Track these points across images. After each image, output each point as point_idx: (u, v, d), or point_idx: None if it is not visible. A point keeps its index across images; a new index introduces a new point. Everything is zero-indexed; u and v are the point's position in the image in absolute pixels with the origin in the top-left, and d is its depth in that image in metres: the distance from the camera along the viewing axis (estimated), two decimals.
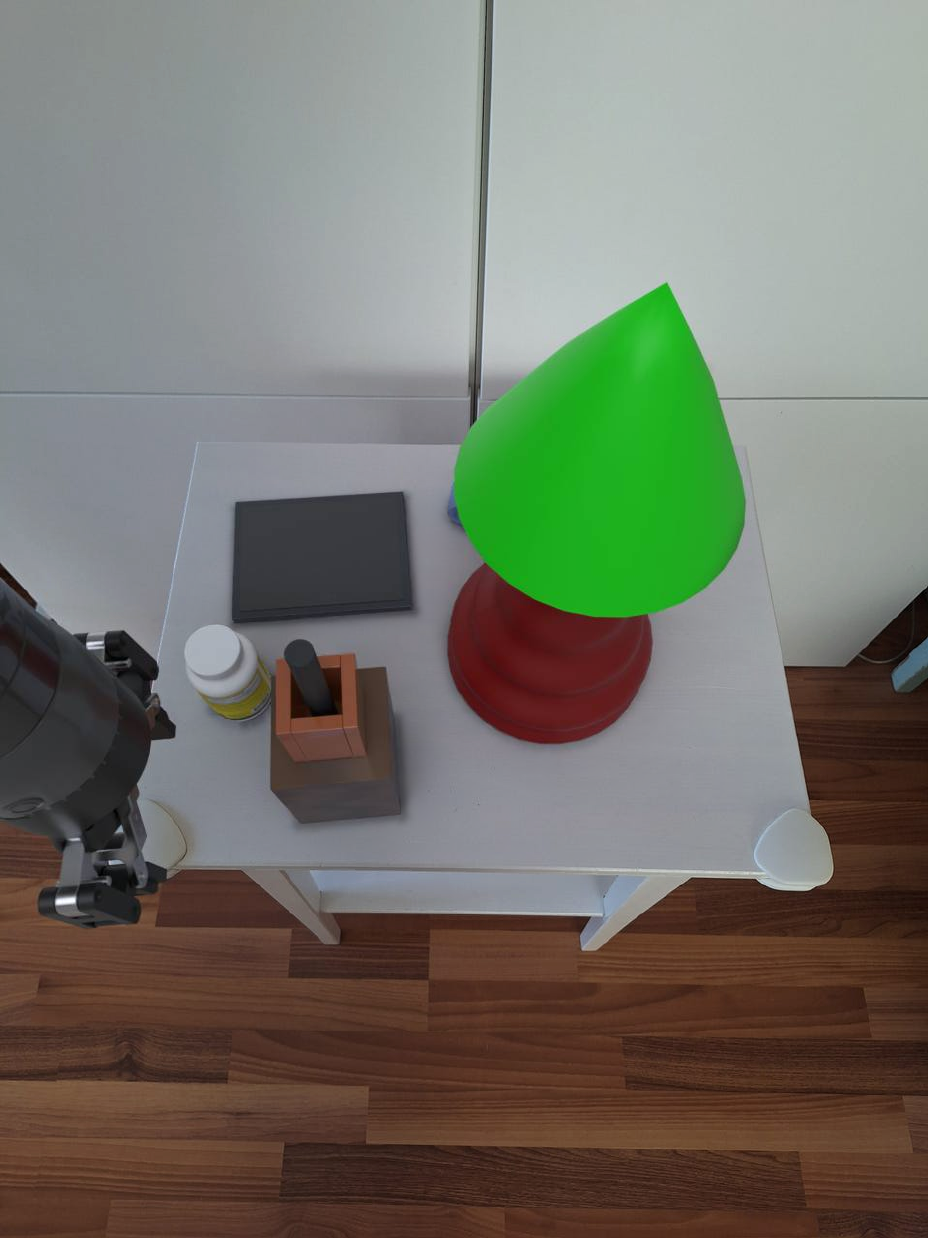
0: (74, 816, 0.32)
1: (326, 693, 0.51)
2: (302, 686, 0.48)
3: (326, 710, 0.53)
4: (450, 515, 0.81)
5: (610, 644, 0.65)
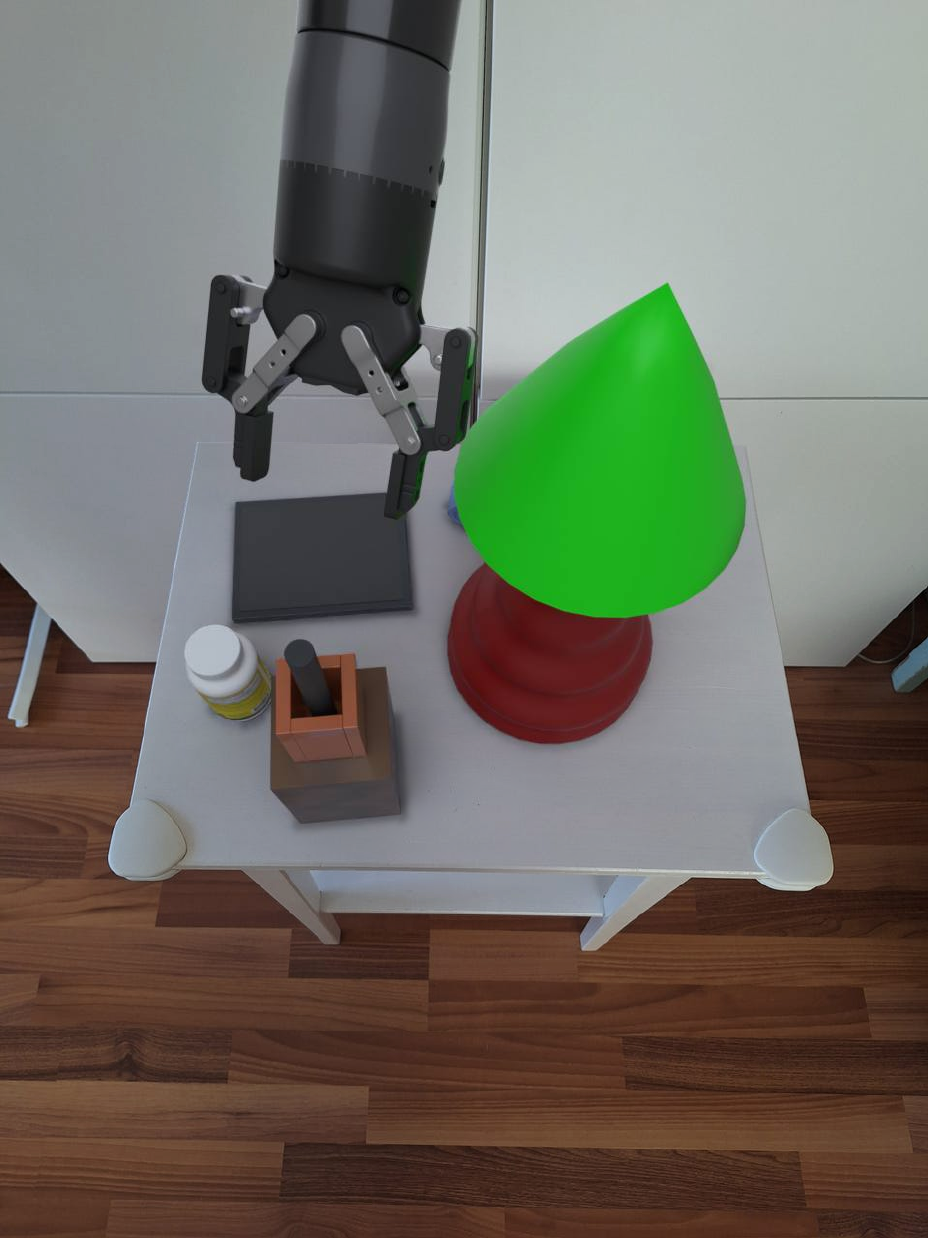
0: None
1: (326, 693, 0.51)
2: (302, 686, 0.48)
3: (326, 710, 0.53)
4: (450, 515, 0.81)
5: (610, 644, 0.65)
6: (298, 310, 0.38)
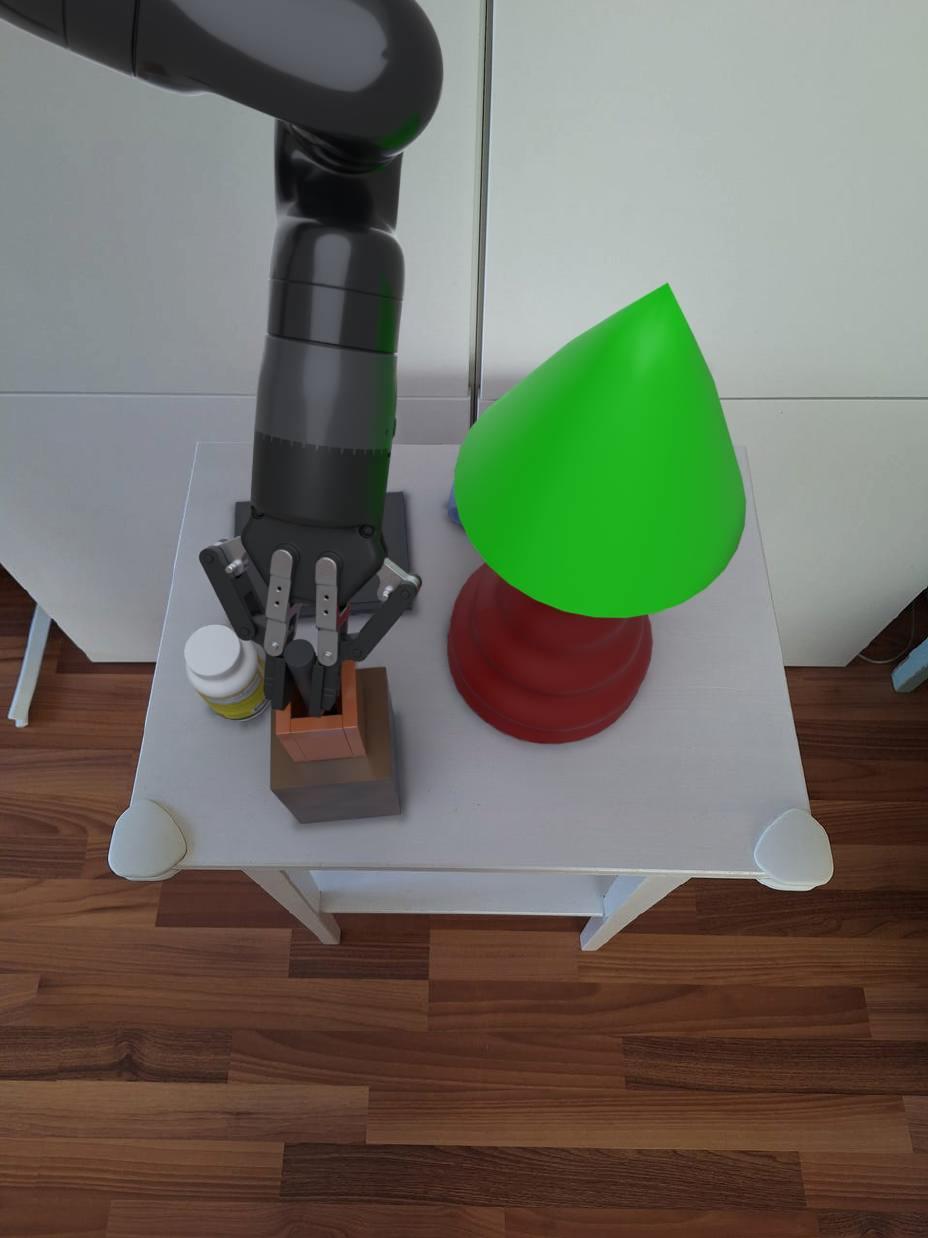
0: None
1: None
2: (302, 686, 0.48)
3: (325, 710, 0.53)
4: (450, 515, 0.81)
5: (610, 644, 0.65)
6: (274, 544, 0.44)
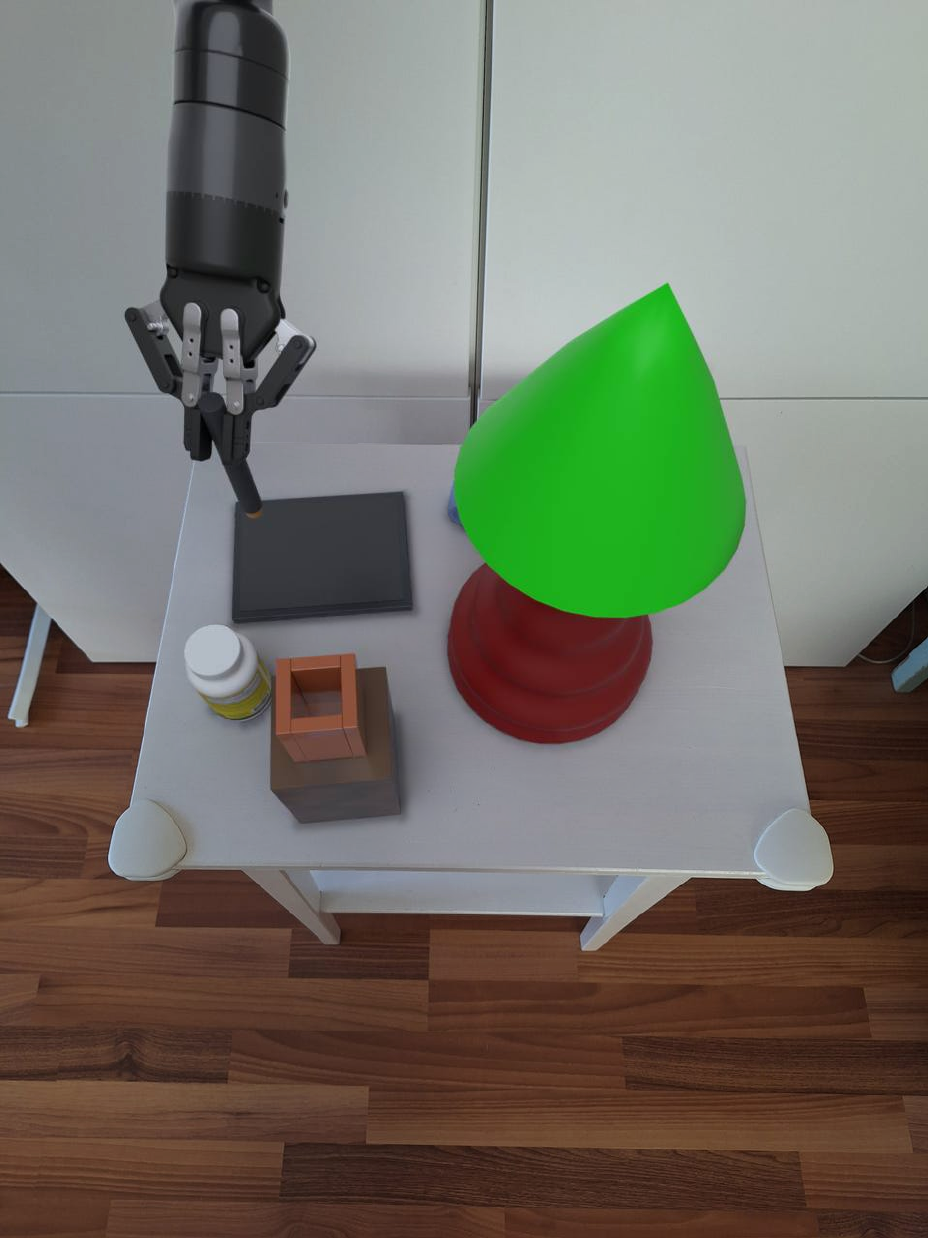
0: None
1: (242, 460, 0.59)
2: (218, 443, 0.56)
3: (245, 482, 0.61)
4: (450, 515, 0.81)
5: (610, 644, 0.65)
6: (187, 301, 0.52)
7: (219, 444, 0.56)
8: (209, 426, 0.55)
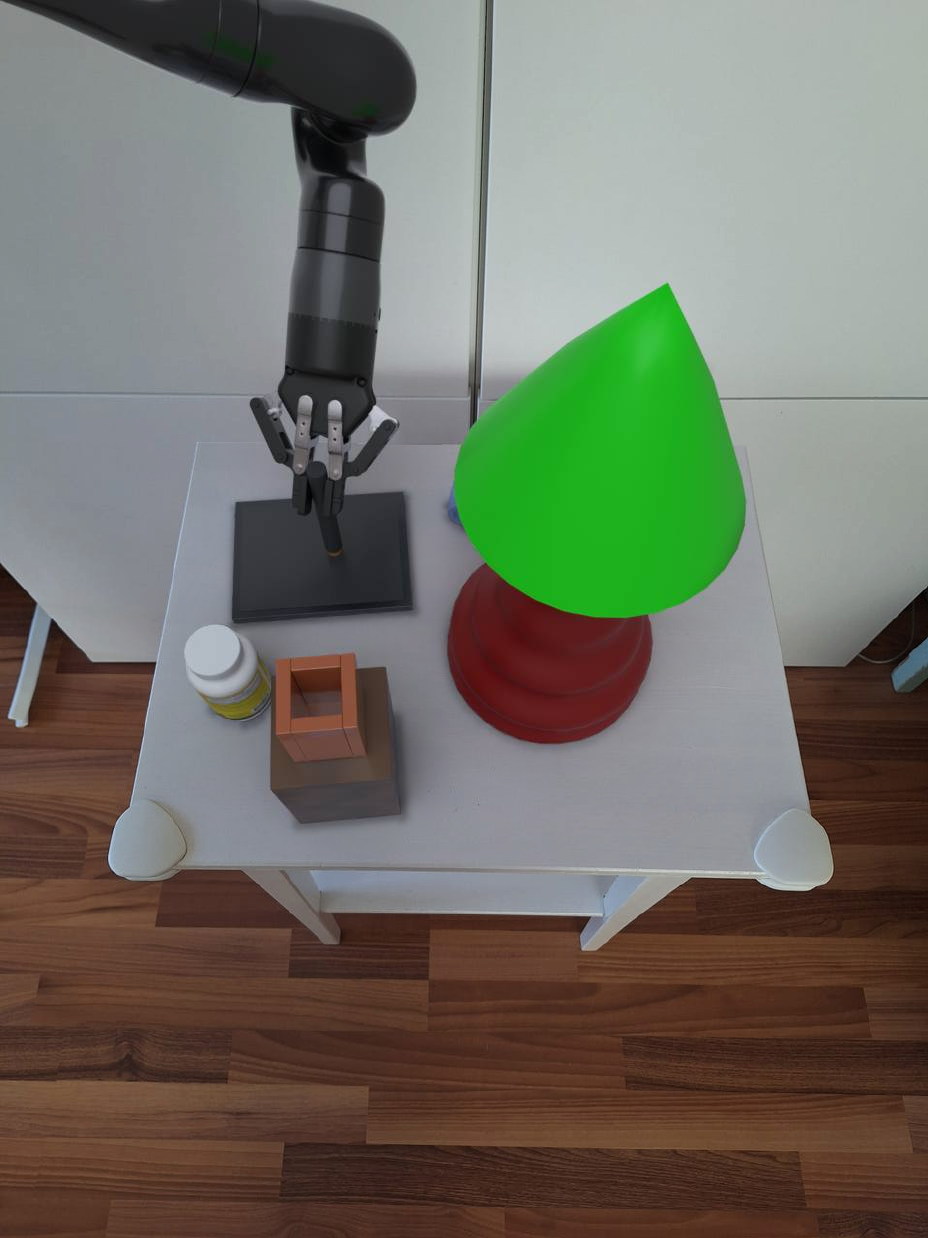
0: None
1: None
2: (317, 499, 0.70)
3: (333, 529, 0.75)
4: (450, 515, 0.81)
5: (610, 644, 0.65)
6: (300, 393, 0.66)
7: (318, 501, 0.70)
8: (313, 487, 0.68)
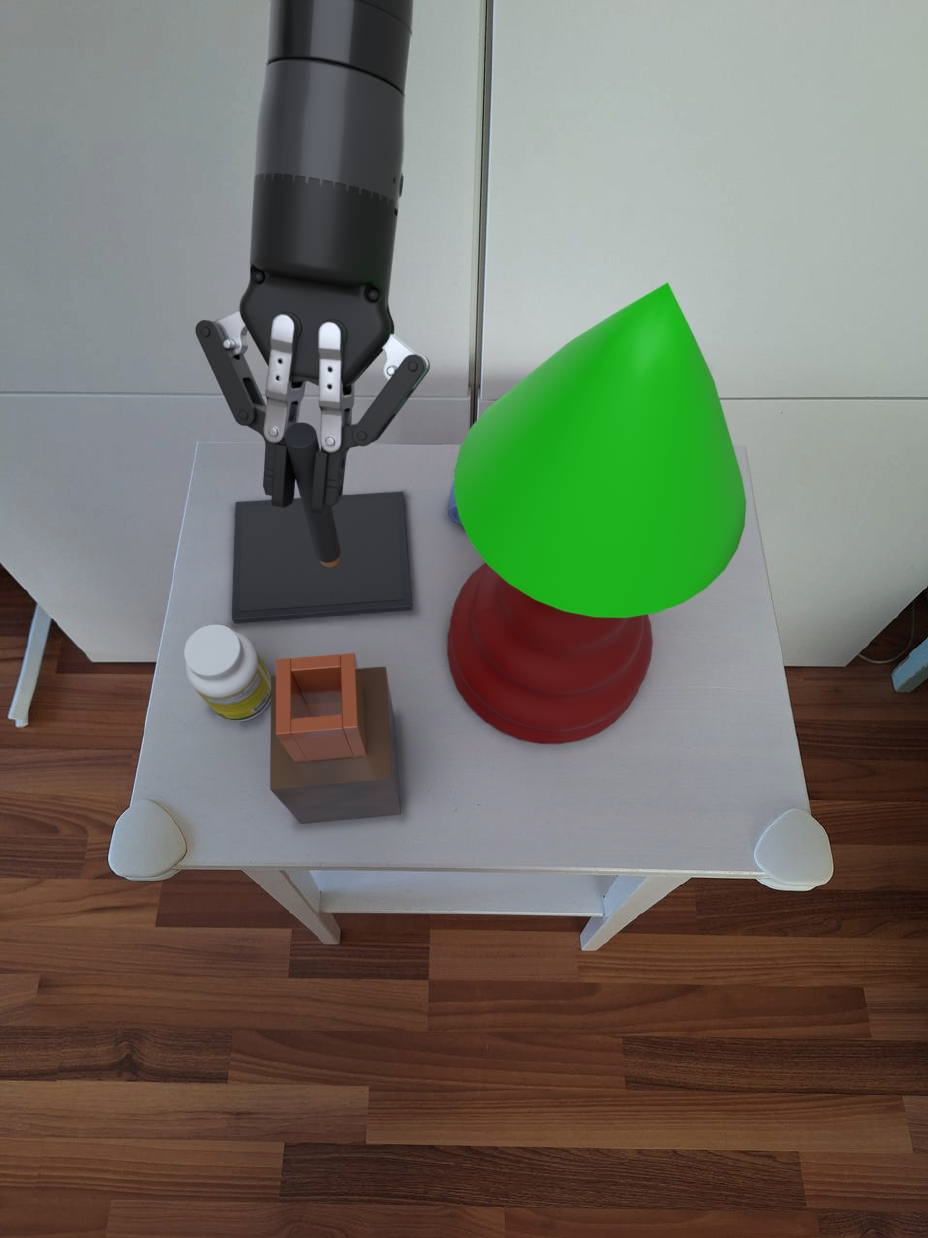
0: None
1: None
2: (303, 483, 0.46)
3: (327, 528, 0.51)
4: (450, 515, 0.81)
5: (610, 644, 0.65)
6: (275, 313, 0.41)
7: (304, 485, 0.46)
8: (296, 464, 0.44)
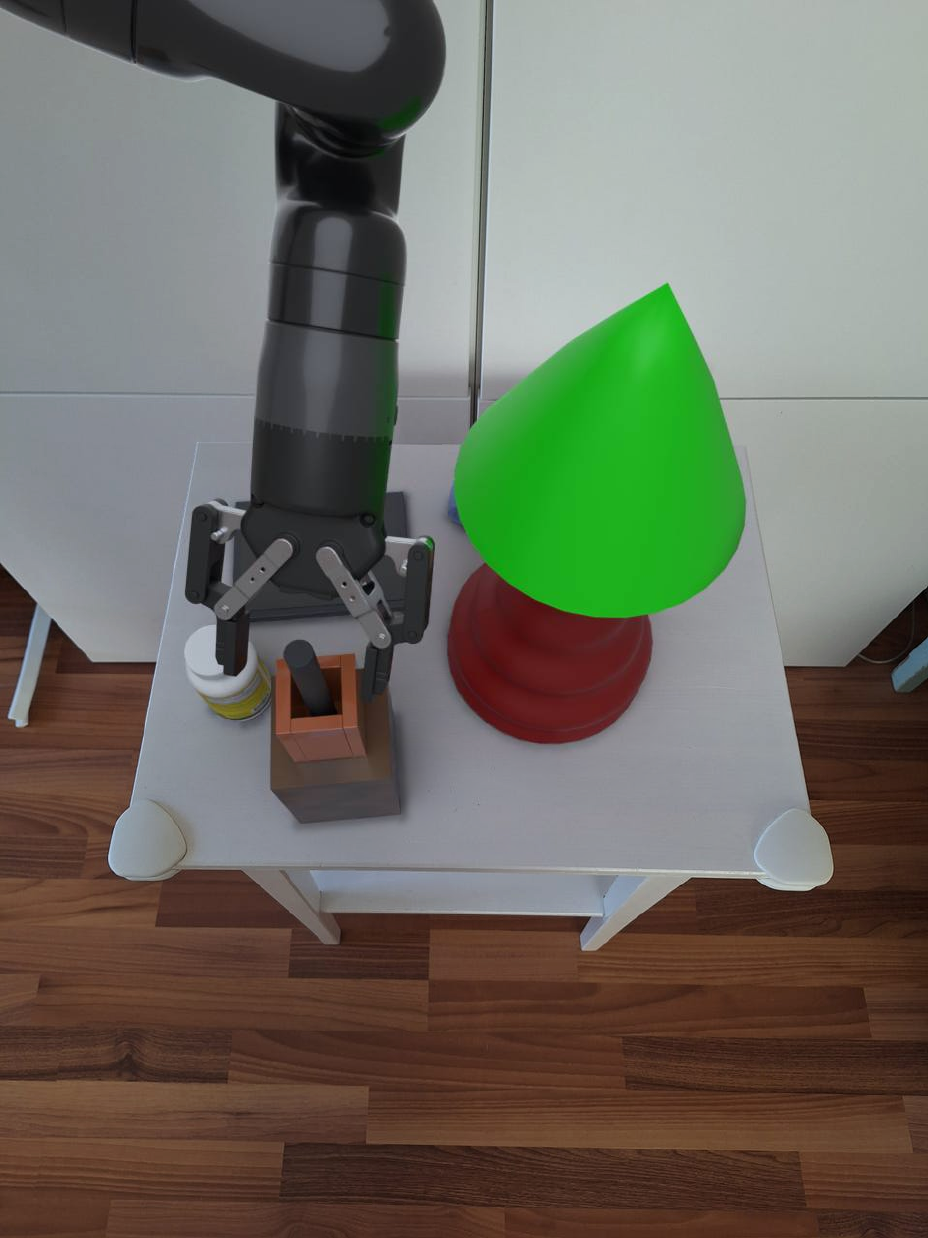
0: None
1: (325, 693, 0.51)
2: (301, 686, 0.48)
3: (325, 711, 0.53)
4: (450, 515, 0.81)
5: (610, 644, 0.65)
6: (274, 533, 0.43)
7: (303, 688, 0.48)
8: (294, 675, 0.47)
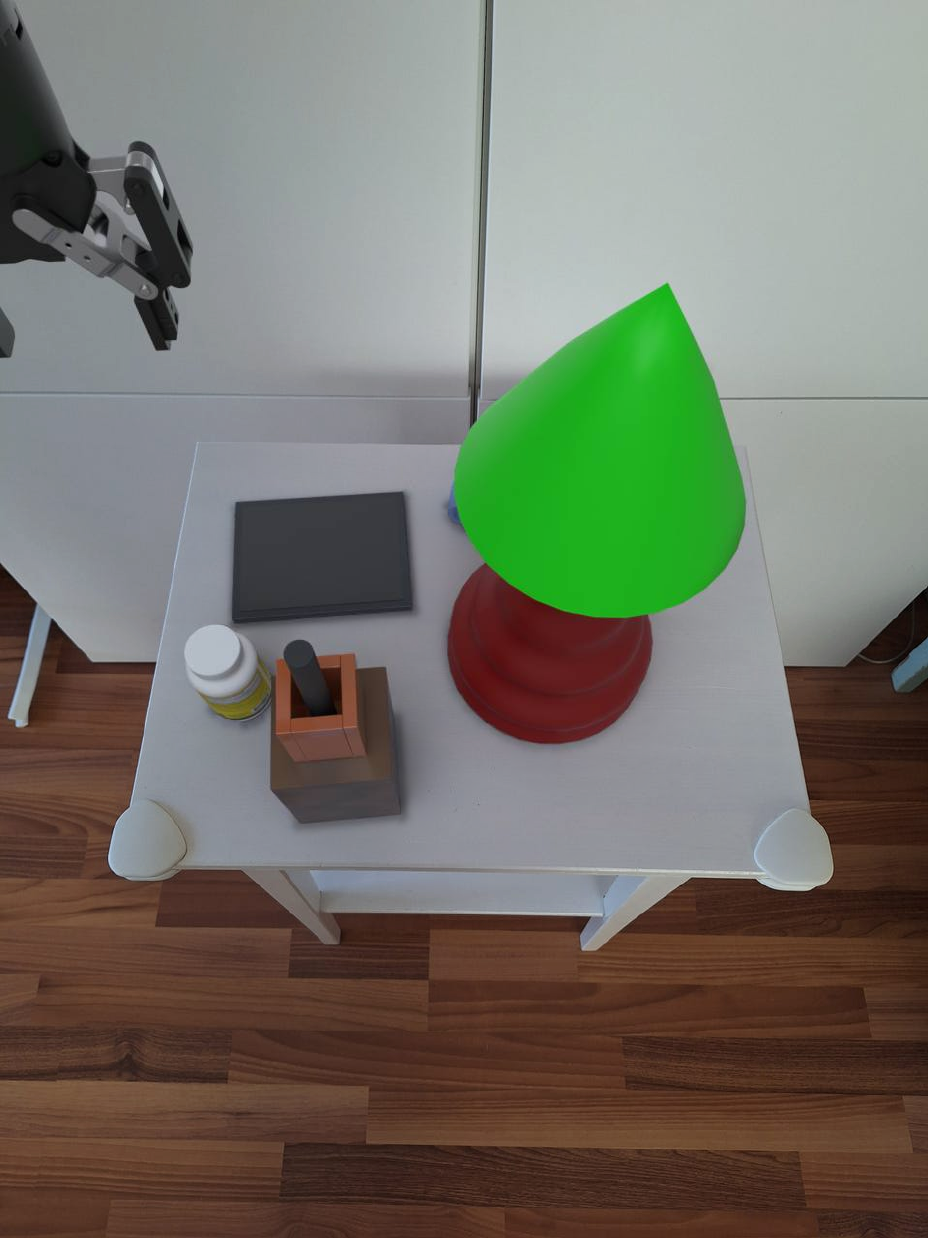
0: None
1: (325, 693, 0.51)
2: (301, 686, 0.48)
3: (325, 711, 0.53)
4: (450, 515, 0.81)
5: (610, 644, 0.65)
6: None
7: (303, 688, 0.48)
8: (294, 675, 0.47)
